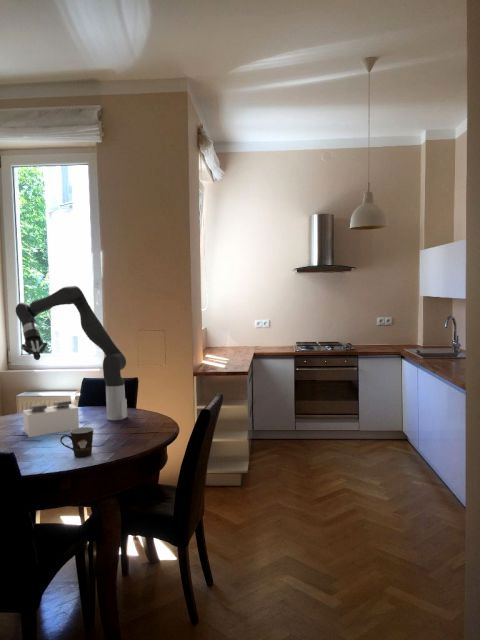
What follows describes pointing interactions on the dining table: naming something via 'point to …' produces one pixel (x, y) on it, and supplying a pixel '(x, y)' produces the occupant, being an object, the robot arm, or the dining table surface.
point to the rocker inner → (62, 403)
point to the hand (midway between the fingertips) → (37, 358)
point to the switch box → (50, 420)
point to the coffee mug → (81, 441)
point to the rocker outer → (38, 407)
